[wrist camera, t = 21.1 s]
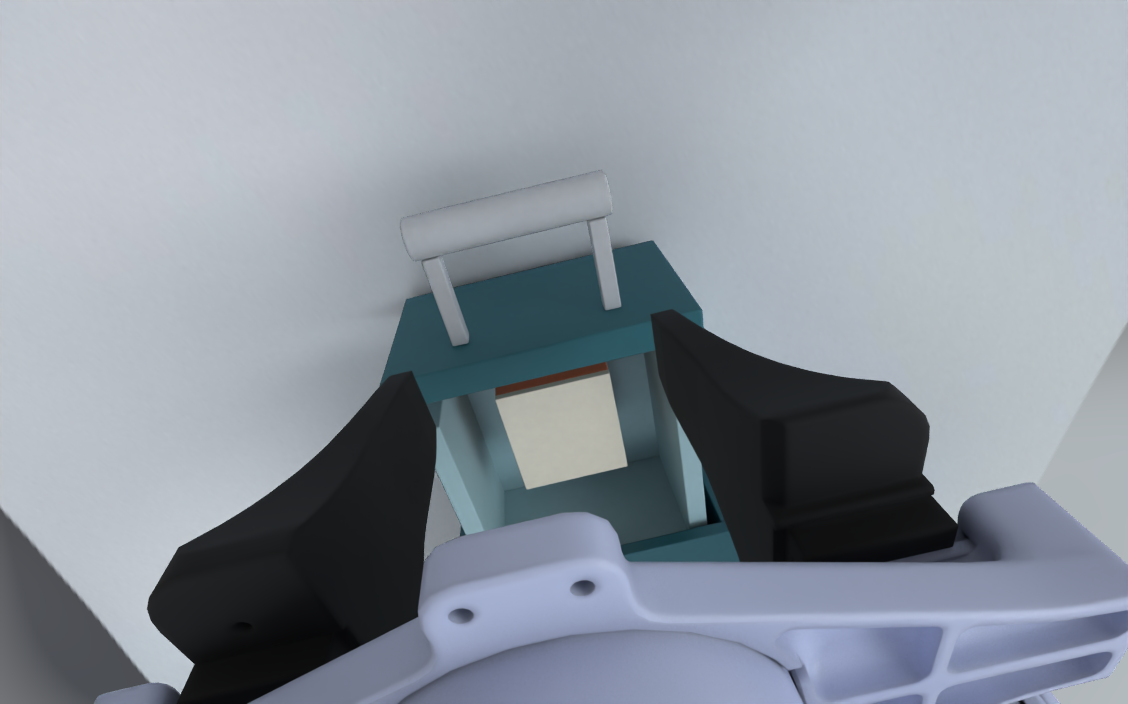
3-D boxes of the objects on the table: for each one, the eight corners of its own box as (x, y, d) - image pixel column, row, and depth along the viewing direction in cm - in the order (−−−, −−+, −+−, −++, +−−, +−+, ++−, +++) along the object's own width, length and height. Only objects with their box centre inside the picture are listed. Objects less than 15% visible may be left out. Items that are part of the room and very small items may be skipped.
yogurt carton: (611, 409, 27) (628, 466, 24) (522, 430, 27) (526, 490, 24) (593, 323, 24) (609, 373, 21) (494, 346, 24) (494, 400, 21)
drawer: (362, 192, 21) (315, 256, 16) (638, 125, 21) (691, 165, 15) (484, 492, 30) (482, 600, 25) (679, 447, 30) (721, 546, 25)
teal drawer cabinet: (464, 460, 30) (455, 594, 23) (682, 409, 30) (740, 529, 23) (522, 600, 37) (529, 735, 30) (699, 559, 37) (747, 686, 30)
